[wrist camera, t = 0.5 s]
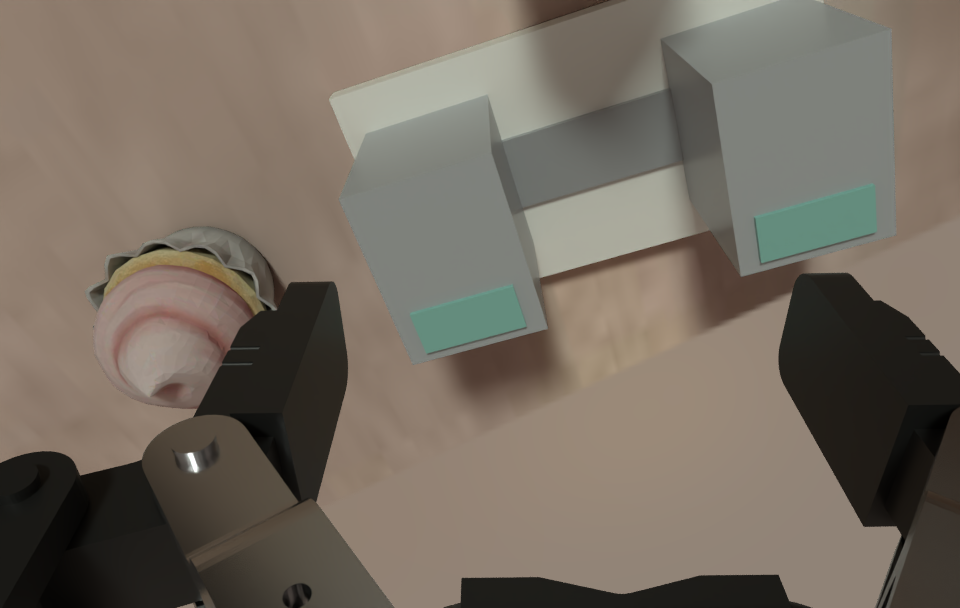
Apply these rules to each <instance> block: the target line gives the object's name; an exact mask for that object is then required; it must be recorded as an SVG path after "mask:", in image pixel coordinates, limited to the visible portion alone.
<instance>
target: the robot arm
mask: <svg viewBox="0 0 960 608" xmlns="http://www.w3.org/2000/svg"><path fill="white" fill-rule="evenodd" d="M779 370H780V375H781V379H782V381H783V384H784V385H785V387H786V389H787V391H788V393H789V394H790V396H791V398H792V400H793V401H794V403H795V405H796V407H797V409H798V410H799V412H800V414H801V416H802V417H803V419H804V421H805V423H806V425H807V427H808V428H809V430H810V432H811V434H812V435H813V437H814V439H815V441H816V443H817V444H818V446H819V448H820V450H821V451H822V453H823V455H824V457H825V458H826V460H827V462H828V464H829V466H830V467H831V469H832V471H833V473H834V475H835V476H836V478H837V480H838V482H839V483H840V485H841V487H842V489H843V490H844V492H845V494H846V496H847V498H848V499H849V501H850V503H851V505H852V507H853V508H854V510H855V512H856V514H857V516H858V517H859V519H860V521H861V523H862V524H863V526H865V527H875V526H877V527H878V526H897V528H898V530H899V531H900V533H901V538H900V540H899V543H898V545H897V547H896V550H895V553H894V556H893V558H892V561H891V564H890V567H889V570H888V572H887V575H886V579H885V581H884V584H883V587H882V590H881V593H880V595H879V598H878V601H877V604H876V607H875V608H960V373H959V372H958V371H957V370H956V369H955V368H954V367H953V366H952V364H950V362H949V361H948V360H947V359H946V358H945V357H944V356H940V352H939V350H938V349H937V348H936V347H935V346H934V345H933V344H932V343H931V342H930V340H926V339H925V335H924V334H923V333H922V332H921V330H919V328H918V327H917V326H916V325H915V324H914V323H913V322H912V321H911V320H910V318H909V317H907V316H906V315H904V314H902V313H900V312H899V311H897V310H896V309H894V308H892V307H891V306H889V305H887V304H886V303H884V302H882V301H874V300H873V299H872V298H871V297H870V296H869V295H868V293H867V292H866V291H865V290H864V289H863V288H862V287H861V285H859V283H858V282H857V281H856V280H855V279H854V277H853V276H852V275H850V274H849V273H811V274H801V275H800V276H799V277H798V278H797V280H796V282H795V284H794V288H793V292H792V296H791V300H790V305H789V309H788V314H787V318H786V322H785V326H784V330H783V335H782V339H781V343H780V348H779ZM347 378H348V359H347V350H346V344H345V337H344V331H343V324H342V317H341V311H340V304H339V298H338V292H337V288H336V285H335V283H334V282H291V283H290V284H289V285H288V287H287V290H286V292H285V294H284V296H283V298H282V300H281V303H280V305H279V307H278V309H277V310H269V311H260V312H258V313H257V314H256V315H255V316H254V317H252V318H251V319H250V320H249V321H247V322H246V323H245V324H244V325H243V326H241V327H240V329H239V331H238V333H237V334H236V336H235V338H234V340H233V342H232V344H231V346H230V350H228V352H227V354H226V356H225V357H224V359H223V361H222V366H220V367H219V369H218V371H217V373H216V375H215V377H214V378H213V380H212V382H211V384H210V386H209V388H208V390H207V392H206V394H205V396H204V398H203V399H202V401H201V403H200V405H199V407H198V409H197V411H196V413H195V415H194V417H193V418H189V419H186V420H183V421H181V422H178V423H176V424H174V425H172V426H170V427H169V428H167V429H165V430H164V431H162V432H161V433H160V434H158V435H157V436H156V437H155V438H154V439H153V440H152V441H151V442H150V444H149V445H148V446H147V448H146V450H145V452H144V454H143V457H142V460H140V461H137V462H134V463H130V464H127V465H123V466H118V467H114V468H110V469H106V470H102V471H97V472H93V473H89V474H85V475H81V476H80V474H79V472H78V470H77V468H76V465H75V463H74V461H73V460H72V459H71V458H70V457H68V456H66V455H64V454H61V453H58V452H51V451H42V452H33V453H28V454H24V455H20V456H17V457H14V458H11V459H9V460H6V461H4V462H2V463H0V608H177V607H180V606H184V605H187V604H190V603H193V605H194V607H195V608H394V607H393V605H392V604H391V602H390V601H389V600H388V598H387V597H386V596H385V594H384V593H383V592H382V590H381V589H380V588H379V586H378V585H377V584H376V582H375V581H374V580H373V578H372V577H371V576H370V574H369V573H368V571H367V570H366V569H365V567H364V566H363V565H362V563H361V562H360V561H359V559H358V558H357V557H356V555H355V554H354V553H353V551H352V550H351V548H350V547H349V546H348V544H347V543H346V542H345V540H344V539H343V538H342V536H341V535H340V534H339V532H338V531H337V530H336V528H335V527H334V526H333V524H332V523H331V521H330V520H329V519H328V517H327V516H326V515H325V513H324V512H323V511H322V509H321V508H320V507H319V505H318V504H317V503H316V501H317V497H318V493H319V489H320V486H321V482H322V478H323V474H324V471H325V467H326V463H327V459H328V455H329V452H330V448H331V444H332V440H333V436H334V433H335V429H336V425H337V421H338V418H339V414H340V410H341V406H342V402H343V399H344V395H345V391H346V386H347ZM461 582H462V584H461V603H458V604H454V605H450V606H447V607H444V608H811V607H808V606H805V605H802V604H798V603H795V602H790V601H789V600H788V597H787V595H786V592H785V590H784V587H783V585H782V582H781V580H780V578H779V575H708V576H696V577H693V578H689V579H685V580H681V581H677V582H673V583H669V584H665V585H661V586H657V587H653V588H649V589H645V590H641V591H637V592H633V593H628V594H615V593H610V592H606V591H601V590H596V589H592V588H587V587H582V586H577V585H573V584H568V583H563V582H559V581H554V580H549V579H545V578H540V577H522V578H521V577H519V578H518V577H517V578H462V581H461Z"/></svg>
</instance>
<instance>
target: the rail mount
mask: <svg viewBox="0 0 960 608" xmlns="http://www.w3.org/2000/svg"><path fill="white" fill-rule="evenodd" d="M329 101H330V103H331V106H332V108H333V110H334V113H335V115H336V117H337V120H338V122H339V124H340V127H341V129H342V132H343V134H344V136H345V139H346V141H347V143H348V146H349V148H350V150H351V153H352V155H353V157H354V160H355V161H354V164H353V166H352V168H351V171H350V173H349V176H348V178H347V181H346V183H345V186H344V188H343V190H342V193H341V195H340V198H339V201H340V204H341V206H342V208H343V210H344V212H345V215H346V217H347V219H348V221H349V224H350V226H351V228H352V230H353V232H354V235H355V237H356V239H357V241H358V244H359V246H360V248H361V250H362V253H363V255H364V257H365V259H366V261H367V264H368V266H369V268H370V270H371V273H372V275H373V277H374V279H375V281H376V284H377V286H378V288H379V290H380V293H381V295H382V297H383V299H384V302H385V304H386V306H387V308H388V310H389V313H390V315H391V317H392V319H393V322H394V324H395V326H396V328H397V330H398V333H399V335H400V337H401V339H402V342H403V344H404V346H405V348H406V351H407V353H408V355H409V357H410V359H411V362H412V364H413V365H415V364H419V363H422V362H426V361H430V360H433V359H437V358H441V357H445V356H448V355H452V354H456V353H460V352H463V351H467V350H471V349H474V348H478V347H482V346H486V345H489V344H493V343H497V342H501V341H504V340H508V339H512V338H515V337H519V336H523V335H527V334H530V333H534V332H538V331H542V330H545V329H548V325H547V319H546V313H545V307H544V301H543V295H542V289H541V283H540V278H542V277H545V276H549V275H552V274H556V273H560V272H563V271H567V270H570V269H574V268H577V267H581V266H585V265H588V264H592V263H595V262H599V261H602V260H606V259H610V258H613V257H617V256H620V255H624V254H628V253H631V252H635V251H638V250H642V249H645V248H649V247H653V246H656V245H660V244H663V243H667V242H670V241H674V240H678V239H681V238H685V237H688V236H692V235H695V234H699V233H703V232H706V231H711V233H712V234H713V236H714V237H715V239H716V240H717V242H718V243H719V245H720V246H721V248H722V249H723V251H724V252H725V254H726V255H727V257H728V258H729V260H730V261H731V263H732V264H733V266H734V267H735V269H736V270H737V272H738V273H739V275H740V276H741V277H743V276H746V275H750V274H754V273H758V272H761V271H765V270H769V269H772V268H776V267H780V266H784V265H787V264H791V263H795V262H799V261H802V260H806V259H810V258H813V257H817V256H821V255H825V254H828V253H832V252H836V251H840V250H843V249H847V248H851V247H854V246H858V245H862V244H866V243H869V242H873V241H877V240H881V239H884V238H888V237H892V236H895V235H896V202H895V160H894V118H893V77H892V35H891V28H888V27H886V26H883V25H880V24H878V23H875V22H872V21H869V20H867V19H864V18H861V17H859V16H856V15H853V14H851V13H848V12H845V11H843V10H840V9H837V8H835V7H832V6H829V5H826V4H824V1H823V0H610V1H607V2H604V3H601V4H598V5H595V6H592V7H589V8H586V9H583V10H580V11H577V12H574V13H571V14H568V15H565V16H562V17H559V18H556V19H553V20H550V21H547V22H544V23H541V24H538V25H535V26H532V27H529V28H526V29H523V30H520V31H517V32H514V33H511V34H508V35H505V36H502V37H499V38H496V39H493V40H490V41H487V42H484V43H481V44H478V45H475V46H472V47H469V48H466V49H463V50H460V51H457V52H454V53H451V54H448V55H445V56H442V57H439V58H436V59H433V60H430V61H427V62H424V63H421V64H418V65H415V66H412V67H409V68H406V69H403V70H400V71H397V72H394V73H391V74H388V75H385V76H382V77H379V78H376V79H373V80H370V81H367V82H364V83H361V84H358V85H355V86H352V87H349V88H346V89H343V90H340V91H337V92H334V93H333V94H332V95H331V97H330V99H329Z"/></svg>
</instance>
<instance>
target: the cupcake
mask: <svg viewBox="0 0 960 608" xmlns="http://www.w3.org/2000/svg"><path fill="white" fill-rule="evenodd" d="M104 266H105V279H104V280H102V281H100V282H98V283H96V284H94V285H92V286H90V287H88V289H87V290H86V291H85V294H86V297H87V299H88V300H89V302H90V303H91V304H92V306H93V307H94V309H95V310H96V311H97V316H96V320H95V323H94V326H93V328H94V335H93V344H94V355H95V357H96V359H97V361H98V362H99V364H100V366H101V368H102V370H103V371H104V373H105V375H106V377H107V378H108V379H109V381H110V382H111V383H112V384H113V386H114V387H116V388H117V389H118V390H119V391H121V392H122V393H124V394H125V395H127V396H129V397H130V398H132V399H134V400H137V401H140V402H143V403H146V404H150V405H156V406H162V407H171V408H182V409H198V407H199V405H200V403H201V401H202V399H203V398H204V396H205V394H206V392H207V390H208V388H209V386H210V384H211V382H212V380H213V378H214V377H215V375H216V373H217V371H218V369H219V367H220V366H222V361H223V359H224V357H225V356H226V354H227V352H228V350H230V346H231V344H232V342H233V340H234V338H235V336H236V334H237V333H238V331H239V329H240V327H241V326H243V325H244V324H245V323H246V322H247V321H249V320H250V319H251V318H252V317H254V316H255V315H256V314H257V313H258V312H260V311H269V310H277V307H276V305H275V303H274V284H273V278H272V274H271V272H270V269H269V267H268V265H267V263H266V261H265V259H264V258H263V257H262V256H261V254H260V253H259V252H258V251H257V250H256V249H255V248H254V247H253V246H252V245H251V244H250V243H249V242H247V241H246V240H245V239H243V238H242V237H240V236H238V235H236V234H233V233H231V232H229V231H226V230H222V229H218V228H214V227H192V228H187V229H183V230H179V231H177V232H175V233H173V234H171V235H169V236H167V237H165V238H163V239H156V240H151V241H148V242H145V243H143V244H142V246H141V247H140V248H139V250H134V251H128V252H122V253H117V254H112V255H107V258H106V261H105V264H104Z"/></svg>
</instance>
